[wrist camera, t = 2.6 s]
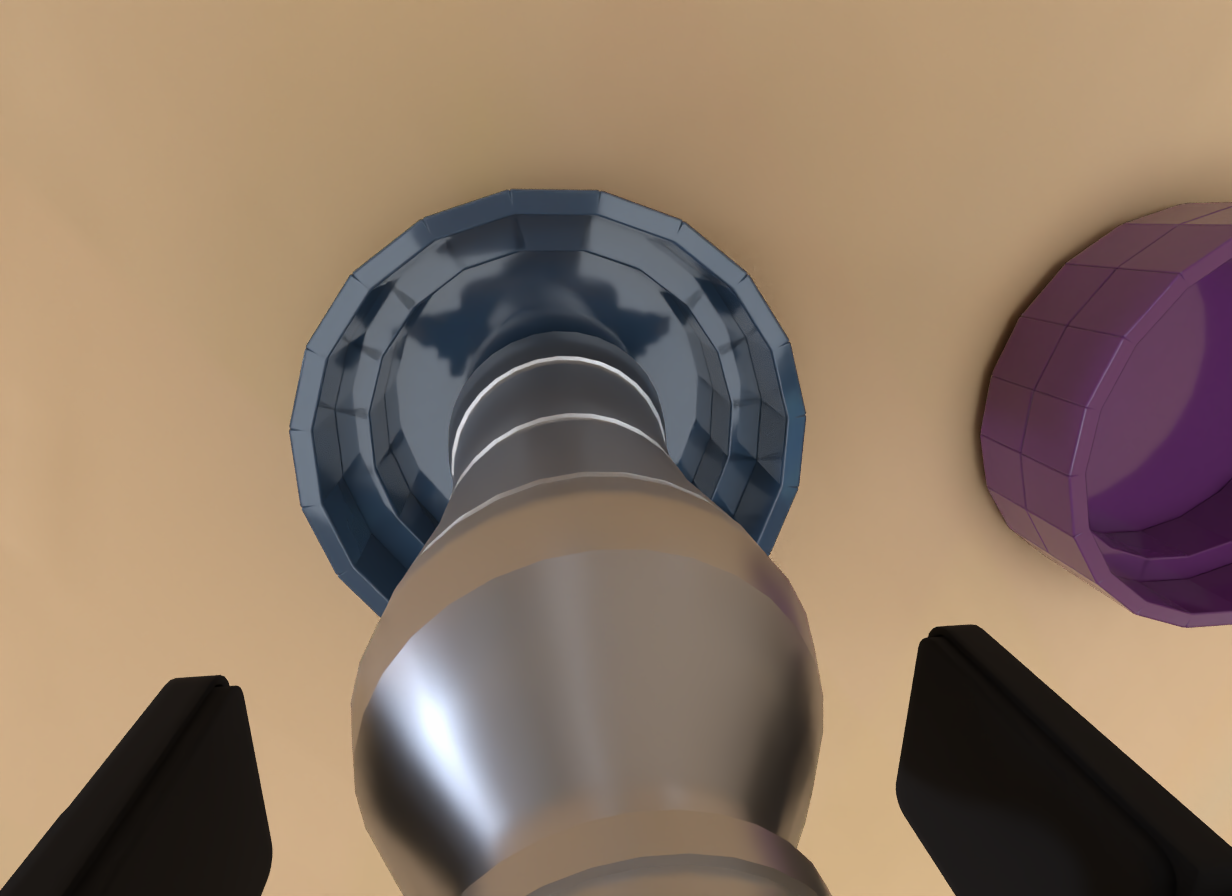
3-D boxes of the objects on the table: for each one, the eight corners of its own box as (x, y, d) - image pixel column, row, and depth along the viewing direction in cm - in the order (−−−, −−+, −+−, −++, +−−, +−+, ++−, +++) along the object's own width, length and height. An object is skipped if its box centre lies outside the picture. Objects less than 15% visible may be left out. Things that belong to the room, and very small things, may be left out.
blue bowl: (313, 192, 21) (250, 185, 16) (765, 198, 22) (829, 192, 18) (364, 602, 25) (327, 690, 20) (737, 580, 27) (782, 658, 22)
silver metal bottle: (687, 405, 24) (1308, 1122, 5) (557, 540, 25) (659, 1559, 6) (550, 275, 22) (710, 648, 3) (414, 427, 23) (-112, 1422, 4)
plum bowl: (1012, 201, 23) (1135, 197, 19) (1366, 206, 25) (1560, 203, 20) (945, 569, 28) (1030, 639, 23) (1248, 551, 30) (1384, 614, 25)
